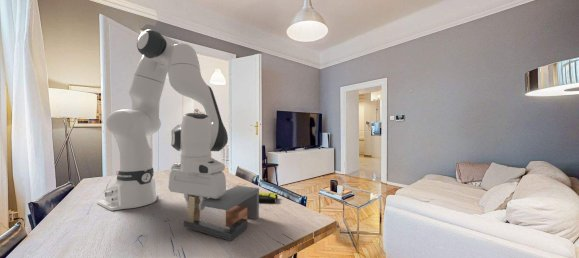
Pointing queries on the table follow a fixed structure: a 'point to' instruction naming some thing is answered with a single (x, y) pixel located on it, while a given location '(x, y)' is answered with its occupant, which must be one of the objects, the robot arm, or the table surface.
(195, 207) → the tan-tipped l-shaped bar
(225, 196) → the grey l-shaped bookend
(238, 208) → the cube
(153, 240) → the table surface
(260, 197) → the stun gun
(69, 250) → the table surface
